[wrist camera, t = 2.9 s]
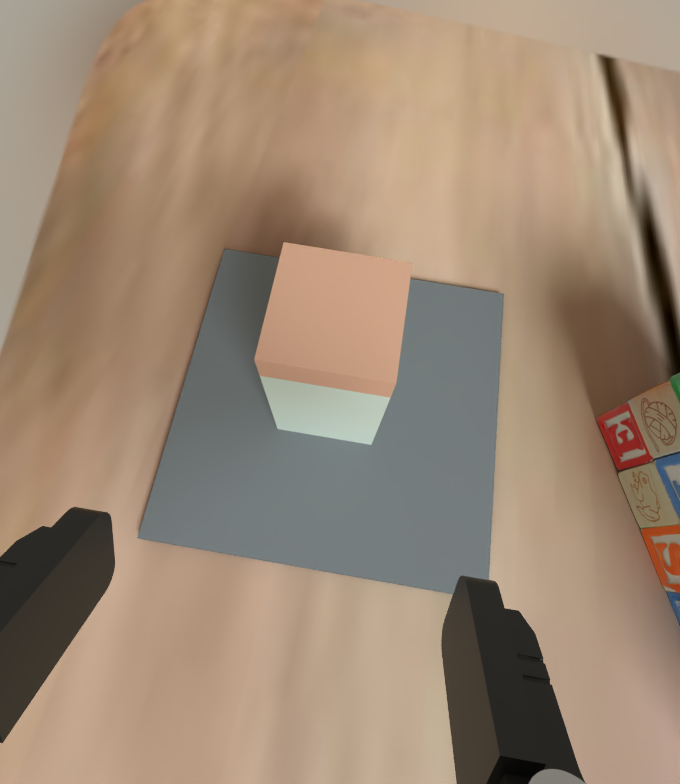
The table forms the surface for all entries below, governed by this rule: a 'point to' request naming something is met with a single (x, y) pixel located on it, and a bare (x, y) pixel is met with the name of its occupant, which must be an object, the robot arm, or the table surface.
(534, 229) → the table surface
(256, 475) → the charcoal mat
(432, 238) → the table surface
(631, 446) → the stack of blocks
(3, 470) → the table surface
